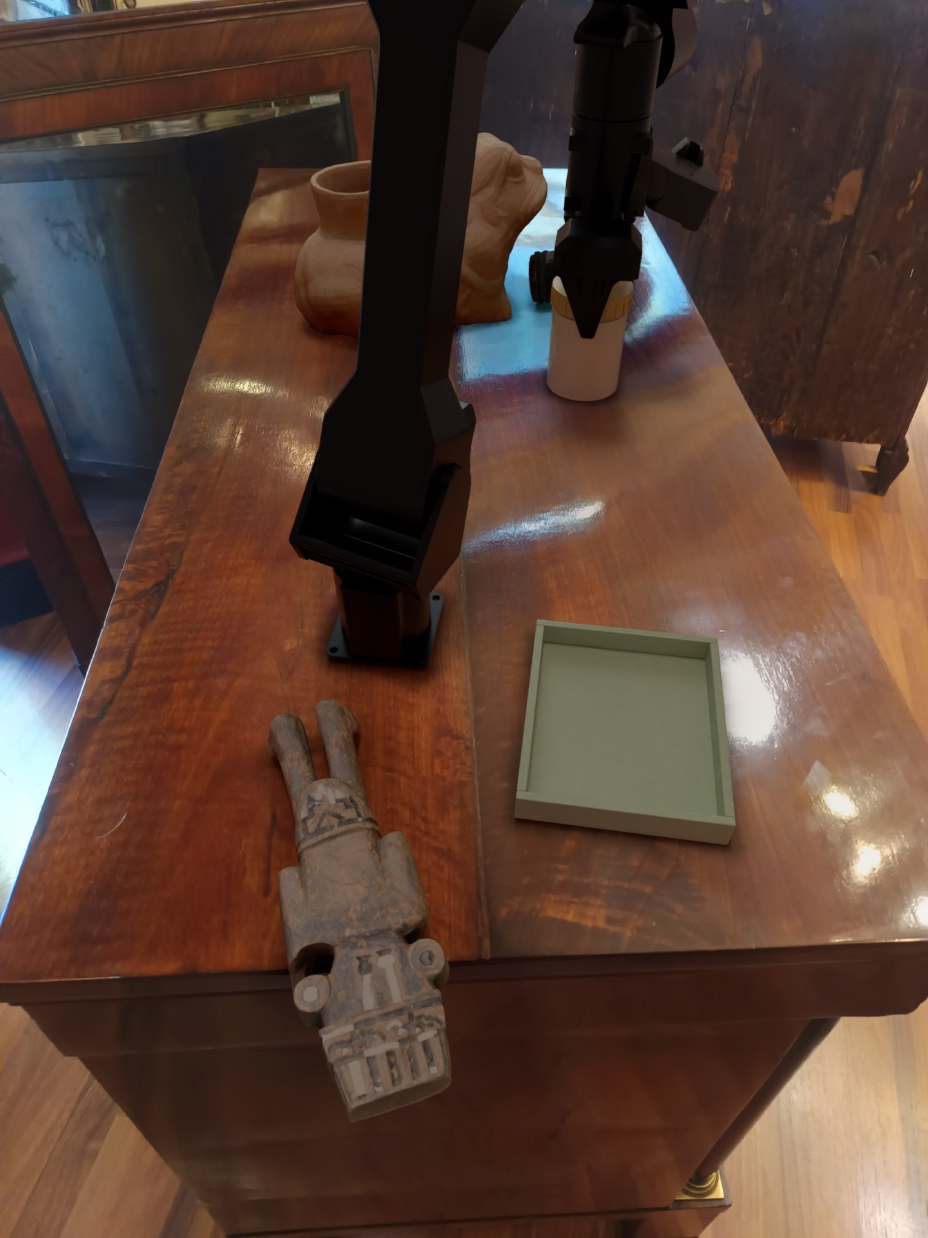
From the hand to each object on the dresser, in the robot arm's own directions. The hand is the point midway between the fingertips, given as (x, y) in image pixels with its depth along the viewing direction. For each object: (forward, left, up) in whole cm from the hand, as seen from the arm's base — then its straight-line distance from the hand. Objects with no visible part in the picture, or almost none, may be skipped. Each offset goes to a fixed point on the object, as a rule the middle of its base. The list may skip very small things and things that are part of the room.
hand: (588, 319), depth 70 cm
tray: (-39, -4, -6) cm, 40 cm away
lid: (0, 0, +3) cm, 3 cm away
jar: (0, 0, -6) cm, 6 cm away
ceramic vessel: (+13, +17, -6) cm, 22 cm away
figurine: (-51, +9, -2) cm, 52 cm away
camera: (+17, +1, -6) cm, 18 cm away
